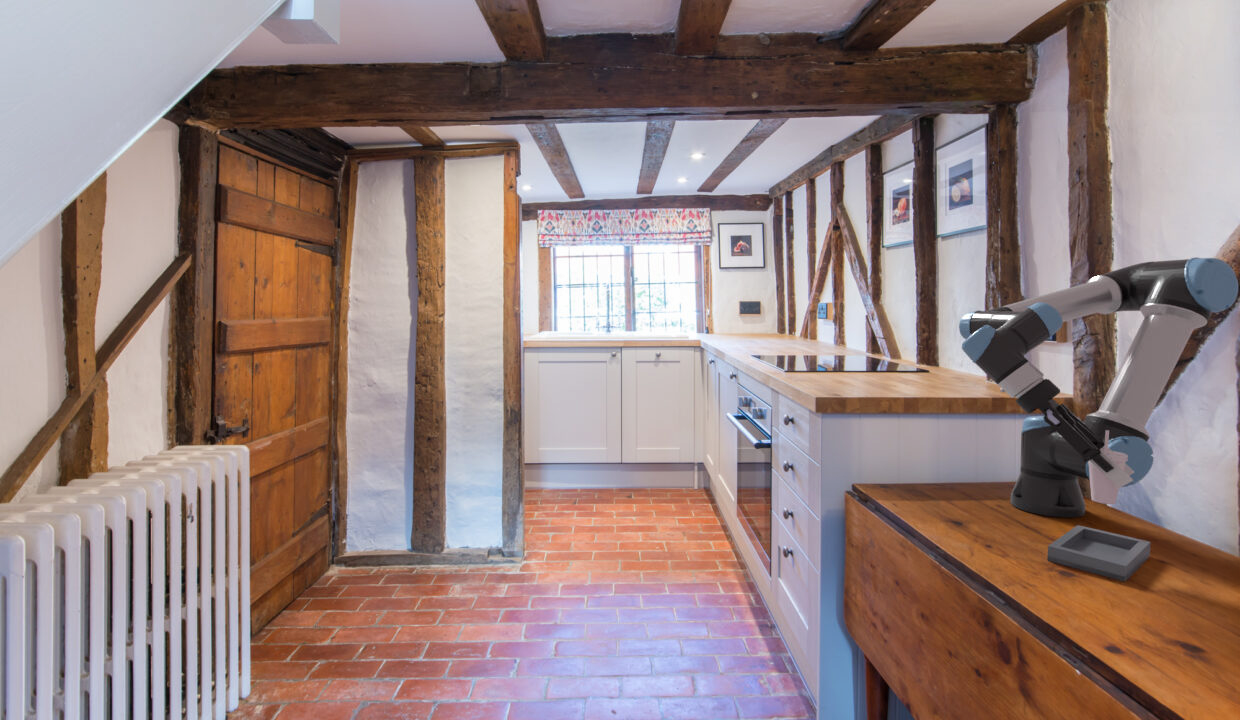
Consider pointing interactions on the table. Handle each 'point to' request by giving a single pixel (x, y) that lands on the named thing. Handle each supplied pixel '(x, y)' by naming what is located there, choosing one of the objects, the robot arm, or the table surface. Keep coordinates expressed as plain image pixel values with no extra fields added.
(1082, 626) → the table surface
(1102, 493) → the smoothie
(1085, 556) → the tray
